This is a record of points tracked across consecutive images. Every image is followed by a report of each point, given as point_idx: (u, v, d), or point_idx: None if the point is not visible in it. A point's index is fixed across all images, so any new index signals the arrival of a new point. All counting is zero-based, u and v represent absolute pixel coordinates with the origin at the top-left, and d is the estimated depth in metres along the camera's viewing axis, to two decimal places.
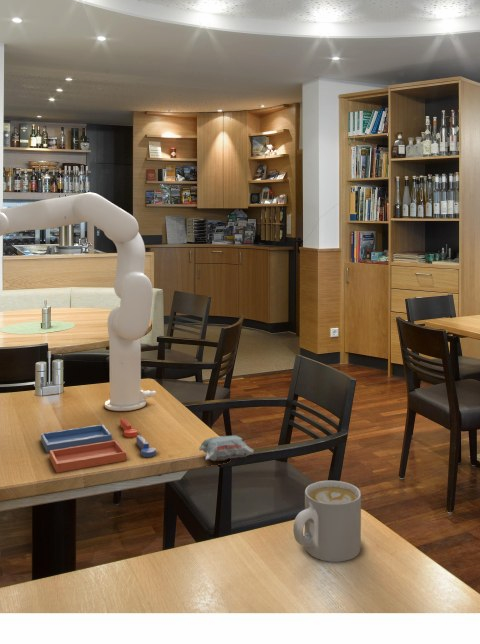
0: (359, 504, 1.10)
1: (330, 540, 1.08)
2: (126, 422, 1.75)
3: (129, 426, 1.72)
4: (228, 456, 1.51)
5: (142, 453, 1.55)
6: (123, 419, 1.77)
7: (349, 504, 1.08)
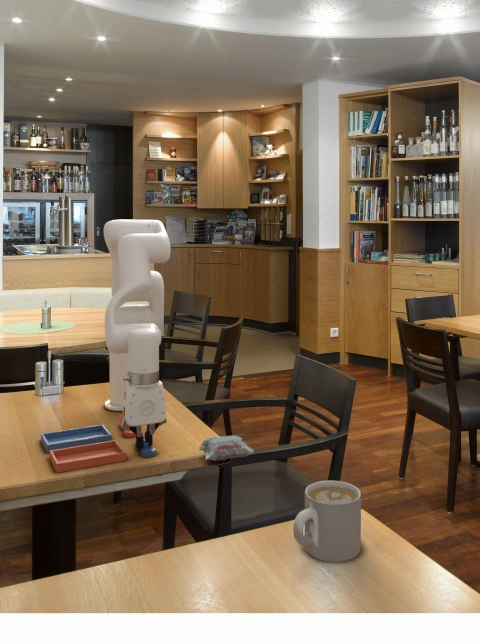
0: (359, 504, 1.10)
1: (330, 540, 1.08)
2: None
3: None
4: (228, 456, 1.51)
5: (142, 453, 1.55)
6: None
7: (349, 504, 1.08)
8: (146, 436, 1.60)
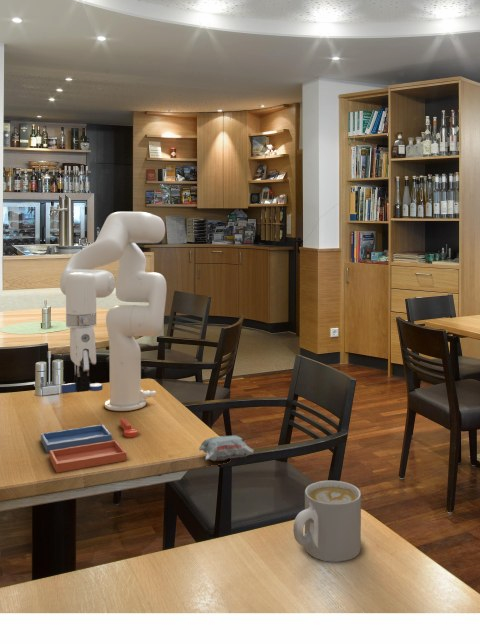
0: (359, 504, 1.10)
1: (330, 540, 1.08)
2: (126, 422, 1.75)
3: (129, 426, 1.72)
4: (228, 456, 1.51)
5: (99, 387, 1.65)
6: (123, 419, 1.77)
7: (349, 504, 1.08)
8: None
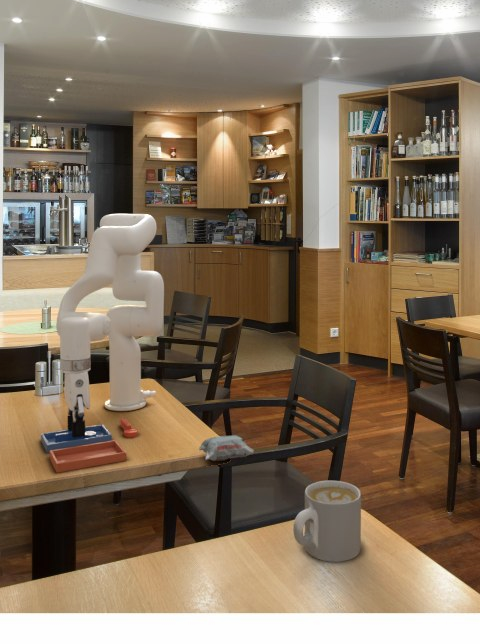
0: (359, 504, 1.10)
1: (330, 540, 1.08)
2: (126, 422, 1.75)
3: (129, 426, 1.72)
4: (228, 456, 1.51)
5: (92, 436, 1.66)
6: (123, 419, 1.77)
7: (349, 504, 1.08)
8: None
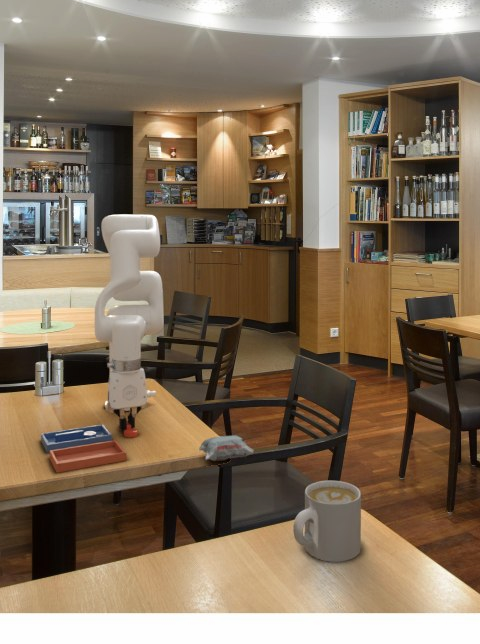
0: (359, 504, 1.10)
1: (330, 540, 1.08)
2: None
3: (129, 426, 1.72)
4: (228, 456, 1.51)
5: (92, 436, 1.66)
6: None
7: (349, 504, 1.08)
8: (129, 418, 1.74)
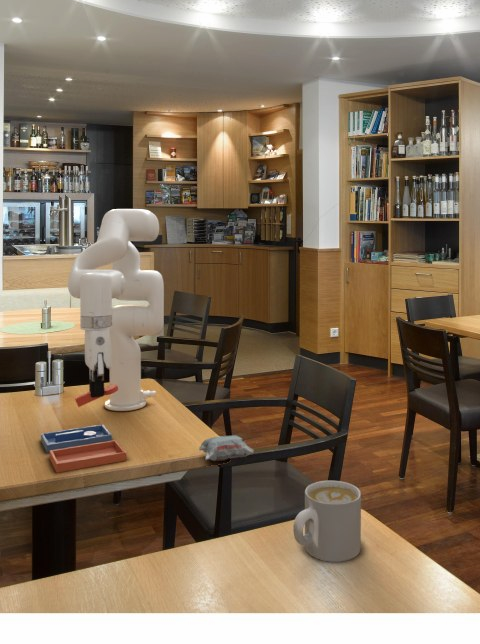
0: (359, 504, 1.10)
1: (330, 540, 1.08)
2: None
3: None
4: (228, 456, 1.51)
5: (92, 436, 1.66)
6: (79, 396, 1.55)
7: (349, 504, 1.08)
8: None
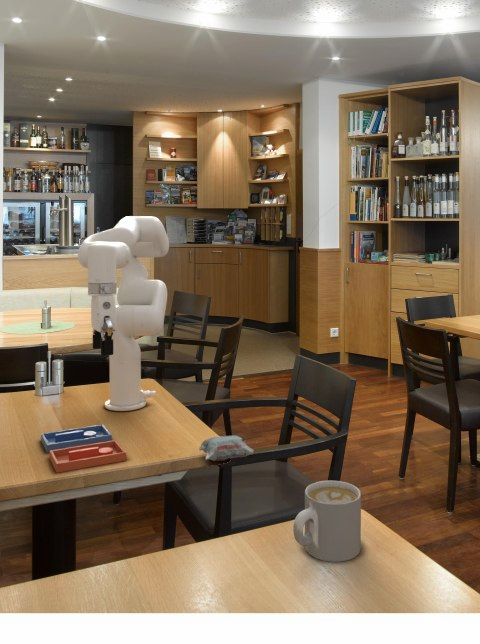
0: (359, 504, 1.10)
1: (330, 540, 1.08)
2: (86, 448, 1.53)
3: None
4: (228, 456, 1.51)
5: (92, 436, 1.66)
6: (73, 451, 1.51)
7: (349, 504, 1.08)
8: (99, 336, 1.76)
